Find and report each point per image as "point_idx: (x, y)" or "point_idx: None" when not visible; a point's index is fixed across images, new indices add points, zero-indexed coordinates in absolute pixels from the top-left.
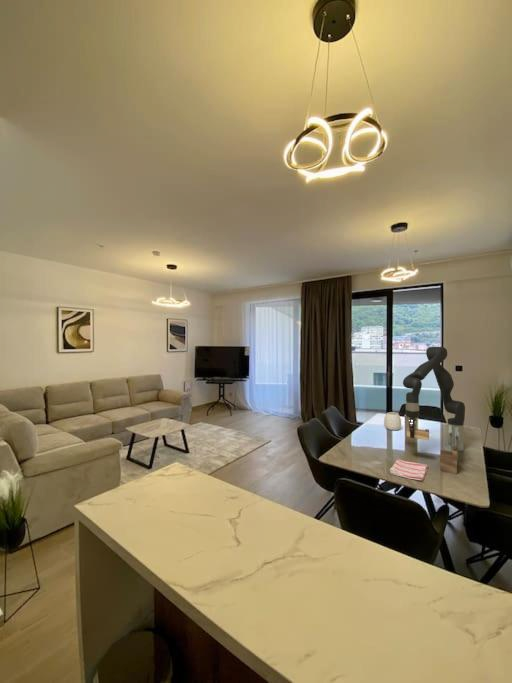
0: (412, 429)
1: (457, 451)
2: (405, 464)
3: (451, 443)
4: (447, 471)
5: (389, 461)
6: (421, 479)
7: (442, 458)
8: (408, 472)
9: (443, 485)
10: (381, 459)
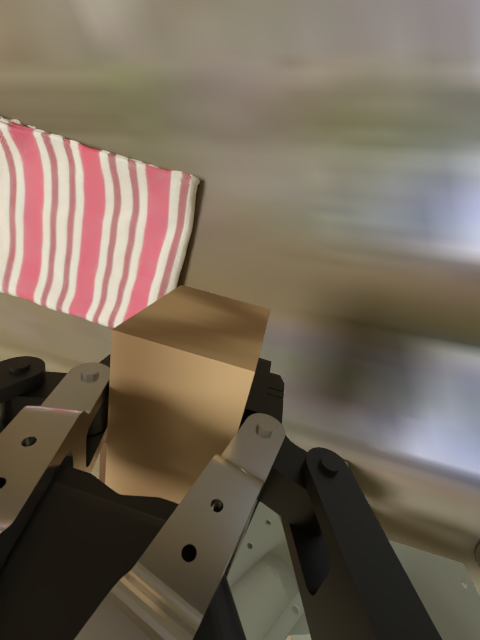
0: (142, 428)
1: None
2: (135, 224)
3: (240, 578)
4: None
5: (165, 112)
6: None
7: None
8: (30, 226)
9: (5, 351)
10: (181, 37)
